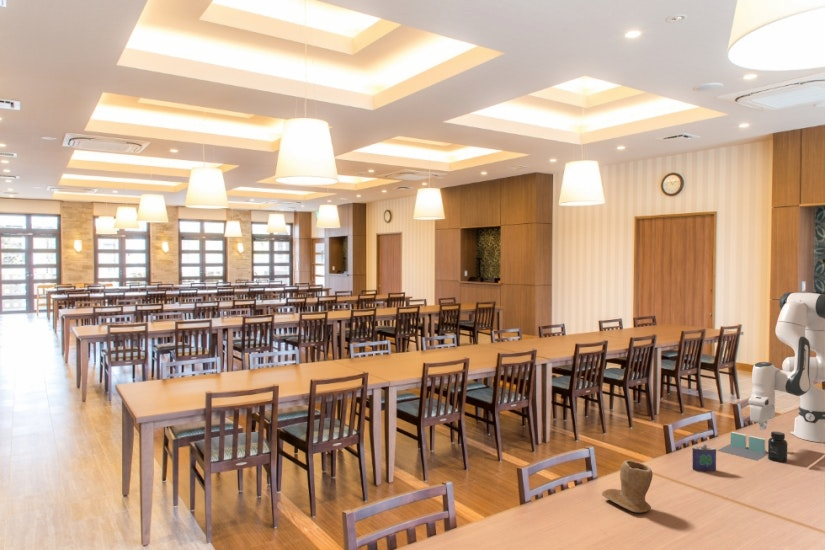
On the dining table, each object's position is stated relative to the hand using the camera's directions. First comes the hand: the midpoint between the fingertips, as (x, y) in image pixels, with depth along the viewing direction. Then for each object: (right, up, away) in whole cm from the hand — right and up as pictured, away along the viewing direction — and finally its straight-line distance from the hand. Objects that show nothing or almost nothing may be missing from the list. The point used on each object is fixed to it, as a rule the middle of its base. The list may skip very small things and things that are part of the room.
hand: (762, 429), depth 246 cm
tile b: (-10, -9, +2) cm, 13 cm away
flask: (-40, -10, -25) cm, 48 cm away
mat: (-11, -9, -4) cm, 15 cm away
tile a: (-5, -9, -4) cm, 11 cm away
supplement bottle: (-3, -10, -14) cm, 17 cm away
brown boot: (-83, -10, -57) cm, 101 cm away
